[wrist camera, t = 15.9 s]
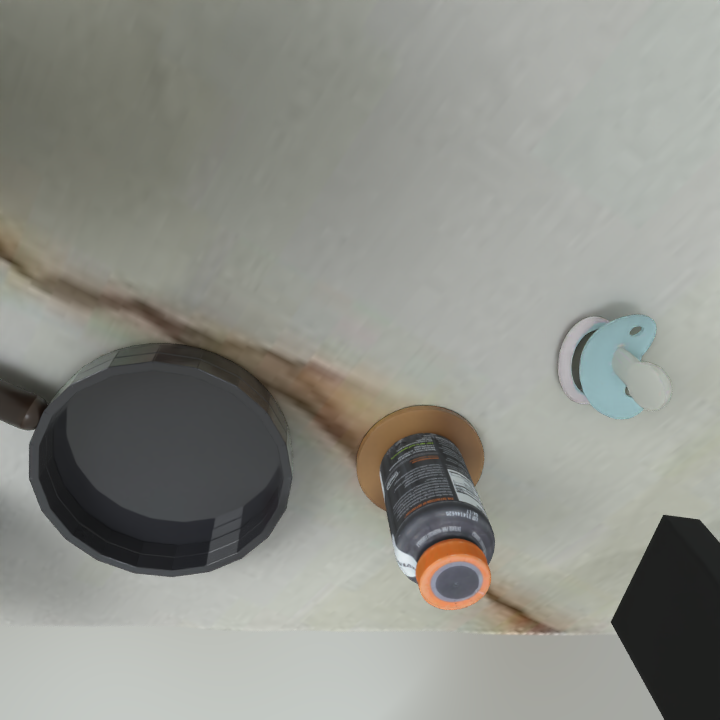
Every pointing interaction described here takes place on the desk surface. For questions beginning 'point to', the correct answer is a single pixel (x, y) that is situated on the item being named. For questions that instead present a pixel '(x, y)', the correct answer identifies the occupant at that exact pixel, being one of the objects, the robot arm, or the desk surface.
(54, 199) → the desk surface
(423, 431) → the coaster
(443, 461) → the pill bottle
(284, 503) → the pan
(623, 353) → the pacifier
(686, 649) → the robot arm
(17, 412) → the pan handle
